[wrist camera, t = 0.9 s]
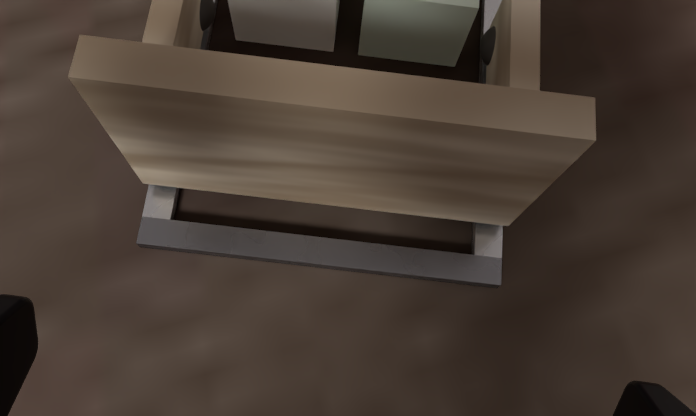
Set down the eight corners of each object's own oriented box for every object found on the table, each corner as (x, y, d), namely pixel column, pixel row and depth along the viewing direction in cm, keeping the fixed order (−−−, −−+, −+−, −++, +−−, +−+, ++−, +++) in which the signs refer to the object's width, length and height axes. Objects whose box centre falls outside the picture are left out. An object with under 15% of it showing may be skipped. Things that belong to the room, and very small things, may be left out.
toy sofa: (515, 230, 23) (612, 142, 16) (134, 185, 23) (51, 75, 15) (519, 41, 25) (603, -111, 18) (177, -1, 25) (123, -173, 18)
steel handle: (497, 288, 23) (501, 285, 23) (139, 246, 23) (136, 243, 22) (507, -66, 28) (510, -74, 28) (215, -103, 28) (214, -112, 27)
